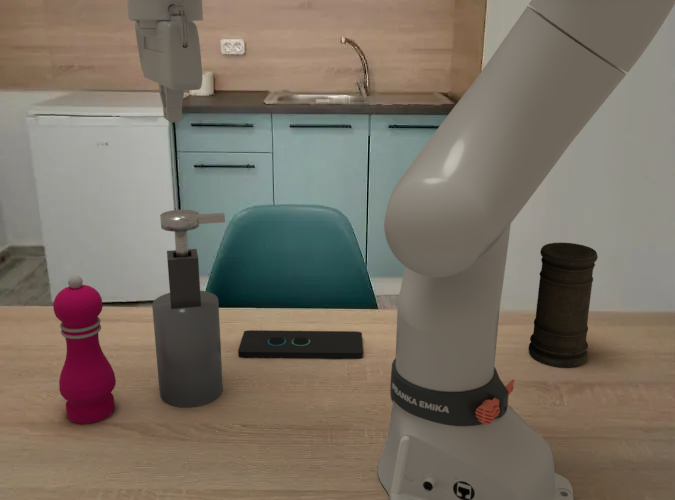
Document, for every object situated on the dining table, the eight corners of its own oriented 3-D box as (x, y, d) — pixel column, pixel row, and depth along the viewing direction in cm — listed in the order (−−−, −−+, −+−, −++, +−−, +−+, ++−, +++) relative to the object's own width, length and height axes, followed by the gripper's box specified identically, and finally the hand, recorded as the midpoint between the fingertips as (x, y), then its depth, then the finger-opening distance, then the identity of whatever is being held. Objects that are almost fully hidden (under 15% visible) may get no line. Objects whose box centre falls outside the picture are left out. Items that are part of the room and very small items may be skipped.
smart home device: (244, 328, 118) (361, 330, 118) (244, 338, 119) (361, 339, 119) (237, 351, 110) (363, 352, 110) (237, 361, 111) (362, 362, 111)
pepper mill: (126, 399, 99) (113, 267, 92) (105, 427, 92) (89, 286, 85) (77, 396, 99) (61, 264, 93) (53, 424, 92) (33, 284, 86)
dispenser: (220, 372, 106) (213, 242, 99) (225, 403, 98) (218, 262, 91) (159, 379, 104) (148, 246, 97) (160, 411, 96) (147, 268, 89)
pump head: (225, 265, 99) (222, 207, 96) (228, 277, 94) (226, 216, 91) (164, 270, 97) (160, 210, 94) (165, 283, 92) (160, 220, 89)
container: (598, 362, 110) (613, 255, 104) (552, 372, 107) (564, 262, 101) (561, 339, 118) (573, 238, 112) (517, 347, 115) (527, 244, 109)
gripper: (212, 4, 76) (218, 131, 81) (174, 7, 94) (181, 110, 98) (154, 4, 74) (163, 134, 78) (126, 6, 91) (135, 112, 96)
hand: (173, 120), depth 88 cm, fingers closed
